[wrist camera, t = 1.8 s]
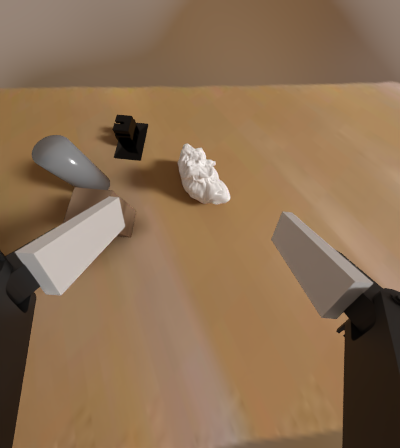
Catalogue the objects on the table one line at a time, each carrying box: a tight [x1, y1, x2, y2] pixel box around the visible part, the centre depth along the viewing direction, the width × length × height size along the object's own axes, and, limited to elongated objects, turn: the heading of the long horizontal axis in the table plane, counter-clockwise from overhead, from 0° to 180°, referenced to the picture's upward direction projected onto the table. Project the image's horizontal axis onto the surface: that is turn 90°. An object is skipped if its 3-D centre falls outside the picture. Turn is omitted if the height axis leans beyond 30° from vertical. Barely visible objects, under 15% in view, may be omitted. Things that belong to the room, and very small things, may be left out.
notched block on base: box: [113, 115, 148, 161], centre depth 29 cm, size 12×7×5 cm, turn 175°
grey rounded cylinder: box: [32, 135, 110, 190], centre depth 24 cm, size 5×5×9 cm
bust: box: [178, 144, 230, 204], centre depth 24 cm, size 12×8×11 cm
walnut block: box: [63, 187, 136, 237], centre depth 22 cm, size 5×5×8 cm
